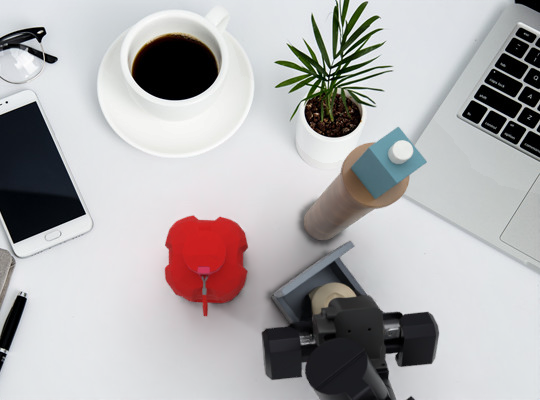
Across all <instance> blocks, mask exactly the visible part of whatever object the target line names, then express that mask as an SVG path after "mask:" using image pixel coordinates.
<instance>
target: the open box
mask: <svg viewBox="0 0 540 400" xmlns="http://www.w3.org/2000/svg"><path fill="white" fill-rule="evenodd" d="M328 283H341V284H344V285H346V286H348V287H349V288H350V289H351V290H352V291H354V290H358V291H359V292H360V293H361V294H362V295H368V293H366V291H365V290H364V288H363V287H362V286H361V284H360V283H359V282H358V280H357V279H356V278H355V276H354V275H353V274H352V272H351V271H350V269H348V267H347V265H345V264H344V262H343V260H342V259H341V257H339V258H338V259H336V260H335V261H333V262H332V263H331V264H329V265H328V266H326V267H325V268H324V269H322V270H321V271H319V272H318V273H317V274H315V275H314V276H312V277H311V278H310V279H308V280H307V281H305V282H304V283H303V284H301V285H300V286H298V287H297V288H296V289H294V290H293V291H291V292H290V293H289V294H287V295H286V296H283V297H279V298H276V297H275V295H274V294H272V295H271V297H270V298H271V300H272V301H273V302H274V304H275V306H277V308H278V309H279V311H280V312H281V314H282V315H283V316H284V317H285V319H286V321H287V322H288V323H289V324H290V323H293V322H299V320H300V318H301V315H302V312H303V304H304V300H305V296H306V295H307V294H308V293H309V292H310V291H311V290H312V289H314V288H316V287H319V286H322V285H325V284H328ZM315 343H316V342H315Z"/></svg>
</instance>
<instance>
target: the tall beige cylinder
mask: <svg viewBox="0 0 540 400" xmlns="http://www.w3.org/2000/svg"><path fill="white" fill-rule="evenodd" d="M376 142H377V141H376ZM376 142H375V141H374V142H367V143H363V144H360V145H358V146H357V147H355V148H354V149H352V150H351V151H350V152H349V153H348V155H347V156H346V157H345V159H344V160H343V162H342V164H341V168H340V172H339V174H338V175H337V176H336V177H335V178H334V180H332V182H331V183H329V185H328V186H327V188H326V189H325V190H324V191H323V192H322V194H321V195H320V196H319V197H318V198H317V199H316V200H315V201H314V203H313V204H312V205H311V207H310V208H308V210H307V211H306V213H305V215H304V217H303V227H304V229H305V231H306V233H307V234H308V236H310V237H312V238H313V239H315V240H317V241H328V240H331V239H332V238H334V237H335V236H337V235H339V234H340V233H341V232H343V231H344V230H346V229H348V228H349V227H350V226H352V225H354V224H355V223H356V222H358V221H359V220H360V219H362V218H364V217H365V216H366V215H368V214H370V213H371V212H373V211H374V210H376V209H384V208H387V207H389V206H391V205H393V204H394V203H396V202H398V201H399V200H400V199H401V198H402V197H403V196H404V194H405V193H406V192H407V189H408V188H409V187H408V186H409V183H410V175H409V176H407V177H406V178H405V179H403V180H402V181H401V182H399V183H398V184H396V185H395V186H394V187H392V188H391V189H389V190H388V191H387V192H385V193H384V194H382V195H381V196H379V197H378V198H377V199H374V197H373V196H372V195H371V194H370V192H369V191H368V190H367V188H366V187H365V186H364V185H363V183H362V182H361V181H360V179H359V178H358V177H357V176H356V174H355V173H354V172H353V170H352V169H351V167H352V166H353V164H354V163H355V162H356V161H357V160H358V159H359V158H360V157H361V156H362V154H363V153H364V152H365V151H366V150H367V149H368V148H369V147H370V146H371V145H373V144H374V143H376Z"/></svg>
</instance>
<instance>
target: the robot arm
mask: <svg viewBox="0 0 540 400" xmlns="http://www.w3.org/2000/svg"><path fill="white" fill-rule="evenodd" d="M353 292H354V293H355V295H356V297H347V298H341V297H339V298H334V299H332V300H331V301H330V302H329V304H328V307H325V308H321V313H320V314H314V315H313V314H312V304H311V299H310V297H309V295H306V296H305V301H304V306H303V312H302V315H301V318H300V320H299V322H293V323H289V324H288V326H277V327H269V328H265V329H264V330H263V331H262V332H261V340H262V341H261V344H262V359H263V367H264V372H265V376H266V377H267V378H269V379H270V380H271V381H277V380H278V381H279V380H287V379H288V380H289V379H297V378H302V377H303V370H304V374H305V379H306V380H307V382H308V384H309V386H310V387H311V388H312V390H313V391H314V393H315V394H316V396H317V397H318V399H319V400H397V397H396V394H395V392H394V389H393V387H392V384H391V381H390V377H389V376H390V371H389V368H388V363H387V360H386V355H389V354H390V355H391V354H395V357H394V360H395V363H396V364H397V367H399V368H406V367H416V366H426V365H432V364H433V363H434V361H435V359H436V357H437V356H436V355H437V351H438V343H439V338H440V329H439V325H438V322H437V321H436V319H435V316H434V314H432V313H431V312H429V311H420V312H410V313H404V314H403V313H402V312H401V311H389V312H388V311H387V312H386V311H385V312H384V311H383V310H382V309H381V308H380V307H379V305H378V304H377V303H376V301H375V300H374V298H373V297H372V296H371V295H368V294H367V295H362V294H361V293H360V292H359V291H358V290H354V291H353ZM315 342H316V343H315ZM406 400H416V399H415V398H414V397H413V396H412V395H410V396H409V397H408V398H407V399H406Z"/></svg>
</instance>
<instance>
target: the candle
mask: <svg viewBox="0 0 540 400" xmlns="http://www.w3.org/2000/svg"><path fill="white" fill-rule="evenodd" d="M307 295H309V297H310V299H311V304H312V314H313V315H314V314H320V313H321V308H325V307H328V304H329V302H330V301H331V300H332V299H334V298H339V297H341V298H347V297H356V295H355V293H354V292H353V291H352V290H351V289H350V288H349V287H348V286H346V285H344V284H341V283H328V284H325V285H322V286H319V287H316V288H314V289H312V290H311V291H310V292H309V293H308V294H307ZM304 301H305V300H304ZM303 306H304V304H303Z"/></svg>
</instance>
